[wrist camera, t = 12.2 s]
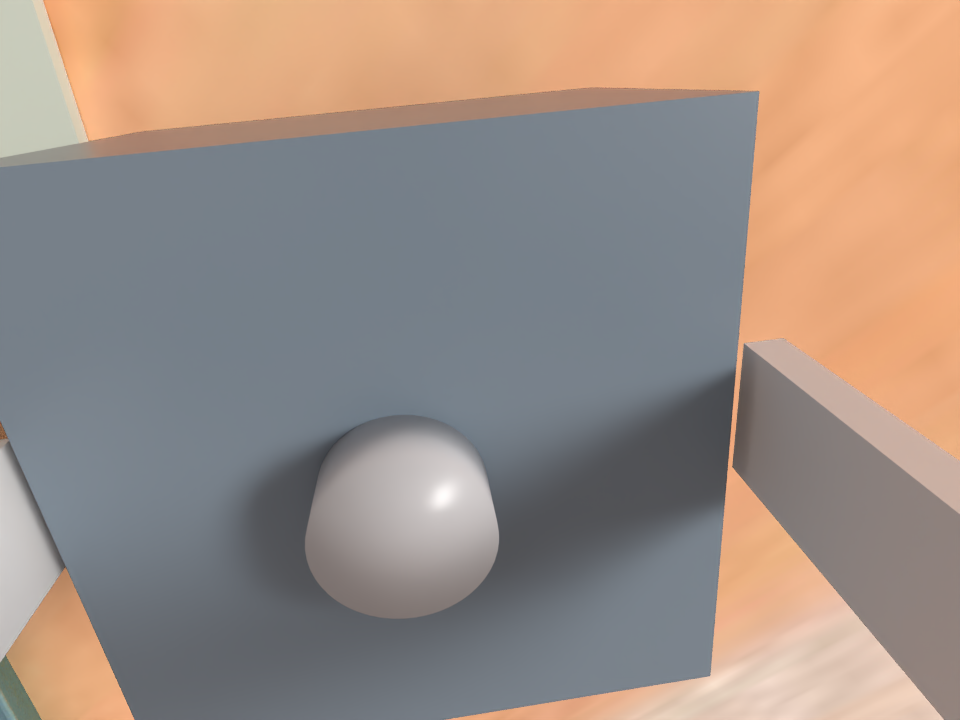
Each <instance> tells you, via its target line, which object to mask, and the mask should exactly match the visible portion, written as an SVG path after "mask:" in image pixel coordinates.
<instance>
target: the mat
mask: <svg viewBox="0 0 960 720" xmlns="http://www.w3.org/2000/svg"><path fill="white" fill-rule="evenodd" d="M83 142H89V141H88V138H87V135H86V132H85V129H84V126H83V123H82V120H81V117H80V114H79V111H78V107H77V104H76V101H75V98H74V95H73V92H72V89H71V86H70V83H69V80H68V76H67V73H66V70H65V67H64V64H63V61H62V58H61V55H60V52H59V49H58V46H57V42H56V39H55V36H54V33H53V30H52V27H51V24H50V21H49V18H48V15H47V11H46V8H45V5H44V2H43V0H0V158H2V157H8V156H13V155H18V154H24V153H29V152H35V151H40V150H45V149H51V148H56V147H62V146H67V145H72V144H78V143H83Z"/></svg>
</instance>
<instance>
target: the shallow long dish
mask: <svg viewBox="0 0 960 720" xmlns="http://www.w3.org/2000/svg"><path fill="white" fill-rule="evenodd" d="M0 720H41V718H40V716H39V714H38V712H37V711H36V709H35V707H34V705H33V703H32V702H31V700H30V698H29V696H28V694H27V693H26V691H25V689H24V687H23V686H22V684H21V682H20V680H19V678H18V677H17V675H16V673H15V671H14V670H13V668H12V666H11V664H10V663H9V661H8V659H7V657H6V655H5V656H4V658H3V659H2V661H1V662H0Z"/></svg>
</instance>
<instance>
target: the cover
mask: <svg viewBox="0 0 960 720" xmlns="http://www.w3.org/2000/svg"><path fill="white" fill-rule="evenodd" d="M758 100H759V91H728V90H682V89H636V88H581V89H571V90H561V91H551V92H541V93H530V94H520V95H510V96H500V97H490V98H479V99H469V100H459V101H449V102H439V103H428V104H418V105H408V106H398V107H387V108H377V109H367V110H357V111H347V112H336V113H326V114H316V115H306V116H296V117H285V118H275V119H265V120H255V121H245V122H234V123H224V124H214V125H204V126H194V127H183V128H173V129H163V130H153V131H143V132H137V133H132V134H126V135H121V136H115V137H110V138H105V139H99V140H94V141H89V142H83V143H78V144H72V145H67V146H62V147H56V148H51V149H45V150H40V151H35V152H29V153H24V154H18V155H13V156H8V157H2V158H0V422H1V424H2V426H3V428H4V430H5V433H6V435H7V437H8V439H9V442H10V444H11V446H12V448H13V450H14V453H15V455H16V457H17V459H18V462H19V464H20V466H21V468H22V470H23V473H24V475H25V477H26V479H27V482H28V484H29V486H30V488H31V490H32V493H33V495H34V497H35V499H36V501H37V504H38V506H39V508H40V510H41V513H42V515H43V517H44V519H45V521H46V524H47V526H48V528H49V530H50V533H51V535H52V537H53V539H54V541H55V544H56V546H57V548H58V550H59V553H60V555H61V557H62V559H63V561H64V564H65V566H66V568H67V570H68V573H69V575H70V577H71V579H72V581H73V584H74V586H75V588H76V590H77V593H78V595H79V597H80V599H81V601H82V604H83V606H84V608H85V610H86V613H87V615H88V617H89V619H90V621H91V624H92V626H93V628H94V630H95V633H96V635H97V637H98V639H99V641H100V644H101V646H102V648H103V650H104V653H105V655H106V657H107V659H108V661H109V664H110V666H111V668H112V670H113V673H114V675H115V677H116V679H117V681H118V684H119V686H120V688H121V690H122V693H123V695H124V697H125V699H126V701H127V704H128V706H129V708H130V710H131V713H132V715H133V717H134V719H135V720H445V719H451V718H457V717H463V716H470V715H476V714H482V713H488V712H494V711H500V710H506V709H512V708H518V707H524V706H530V705H537V704H543V703H549V702H555V701H561V700H567V699H573V698H579V697H585V696H591V695H598V694H604V693H610V692H616V691H622V690H628V689H634V688H640V687H646V686H652V685H659V684H665V683H671V682H677V681H683V680H689V679H695V678H701V677H707V676H710V672H711V660H712V648H713V636H714V624H715V613H716V601H717V589H718V577H719V565H720V553H721V541H722V529H723V517H724V505H725V493H726V481H727V470H728V458H729V446H730V434H731V422H732V410H733V398H734V386H735V374H736V362H737V350H738V338H739V327H740V315H741V303H742V291H743V279H744V267H745V255H746V243H747V231H748V219H749V207H750V195H751V184H752V172H753V160H754V148H755V136H756V124H757V112H758Z"/></svg>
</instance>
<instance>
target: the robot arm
mask: <svg viewBox="0 0 960 720" xmlns="http://www.w3.org/2000/svg"><path fill="white" fill-rule="evenodd" d="M732 467H733V468H734V469H735V471H736V472H737V473H738V474H739V475H740V477H741V478H742V479H743V480H744V481H745V483H746V484H747V485H748V486H749V487H750V489H751V490H752V491H753V492H754V493H755V494H756V496H757V497H758V498H759V499H760V500H761V502H762V503H763V504H764V505H765V506H766V508H767V509H768V510H769V511H770V512H771V514H772V515H773V516H774V517H775V518H776V520H777V521H778V522H779V523H780V524H781V526H782V527H783V528H784V529H785V530H786V531H787V533H788V534H789V535H790V536H791V537H792V539H793V540H794V541H795V542H796V543H797V545H798V546H799V547H800V548H801V549H802V551H803V552H804V553H805V554H806V555H807V557H808V558H809V559H810V560H811V561H812V562H813V564H814V565H815V566H816V567H817V568H818V570H819V571H820V572H821V573H822V574H823V576H824V577H825V578H826V579H827V580H828V582H829V583H830V584H831V585H832V586H833V588H834V589H835V590H836V591H837V592H838V594H839V595H840V596H841V597H842V598H843V599H844V601H845V602H846V603H847V604H848V605H849V607H850V608H851V609H852V610H853V611H854V613H855V614H856V615H857V616H858V617H859V619H860V620H861V621H862V622H863V623H864V625H865V626H866V627H867V628H868V629H869V631H870V632H871V633H872V634H873V635H874V636H875V638H876V639H877V640H878V641H879V642H880V644H881V645H882V646H883V647H884V648H885V650H886V651H887V652H888V653H889V654H890V656H891V657H892V658H893V659H894V660H895V662H896V663H897V664H898V665H899V666H900V668H901V669H902V670H903V671H904V672H905V673H906V675H907V676H908V677H909V678H910V679H911V681H912V682H913V683H914V684H915V685H916V687H917V688H918V689H919V690H920V691H921V693H922V694H923V695H924V696H925V697H926V699H927V700H928V701H929V702H930V703H931V705H932V706H933V707H934V708H935V709H936V710H937V712H938V713H939V714H940V715H941V716H942V718H943V719H944V720H960V461H959V460H957V459H956V458H955V457H953V456H952V455H950V454H949V453H947V452H946V451H945V450H943V449H942V448H940V447H939V446H937V445H936V444H935V443H933V442H932V441H930V440H929V439H927V438H926V437H924V436H923V435H922V434H920V433H919V432H917V431H916V430H914V429H913V428H912V427H910V426H909V425H907V424H906V423H904V422H903V421H902V420H900V419H899V418H897V417H896V416H894V415H893V414H891V413H890V412H889V411H887V410H886V409H884V408H883V407H881V406H880V405H879V404H877V403H876V402H874V401H873V400H871V399H870V398H869V397H867V396H866V395H864V394H863V393H861V392H860V391H858V390H857V389H856V388H854V387H853V386H851V385H850V384H848V383H847V382H846V381H844V380H843V379H841V378H840V377H838V376H837V375H835V374H834V373H833V372H831V371H830V370H828V369H827V368H825V367H824V366H823V365H821V364H820V363H818V362H817V361H815V360H814V359H813V358H811V357H810V356H808V355H807V354H805V353H804V352H802V351H801V350H800V349H798V348H797V347H795V346H794V345H792V344H791V343H790V342H788V341H787V340H785V339H784V338H781V339H774V340H766V341H758V342H751V343H744V348H743V359H742V370H741V380H740V391H739V402H738V412H737V423H736V434H735V445H734V455H733V466H732ZM65 567H66V566H65V564H64V561H63V559H62V557H61V555H60V553H59V550H58V548H57V546H56V544H55V541H54V539H53V537H52V535H51V533H50V530H49V528H48V526H47V524H46V521H45V519H44V517H43V515H42V513H41V510H40V508H39V506H38V504H37V501H36V499H35V497H34V495H33V493H32V490H31V488H30V486H29V484H28V482H27V479H26V477H25V475H24V473H23V470H22V468H21V466H20V464H19V462H18V459H17V457H16V455H15V453H14V450H13V448H12V446H11V444H10V442H9V439H0V662H1V661H2V659H3V658H4V656H5V655H6V653H7V652H8V650H9V649H10V647H11V646H12V644H13V643H14V641H15V640H16V639H17V637H18V636H19V634H20V633H21V631H22V630H23V628H24V627H25V625H26V624H27V622H28V621H29V619H30V618H31V617H32V615H33V614H34V612H35V611H36V609H37V608H38V606H39V605H40V603H41V602H42V600H43V599H44V597H45V596H46V594H47V593H48V592H49V590H50V589H51V587H52V586H53V584H54V583H55V581H56V580H57V578H58V577H59V575H60V574H61V572H62V571H63V569H64V568H65Z"/></svg>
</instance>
